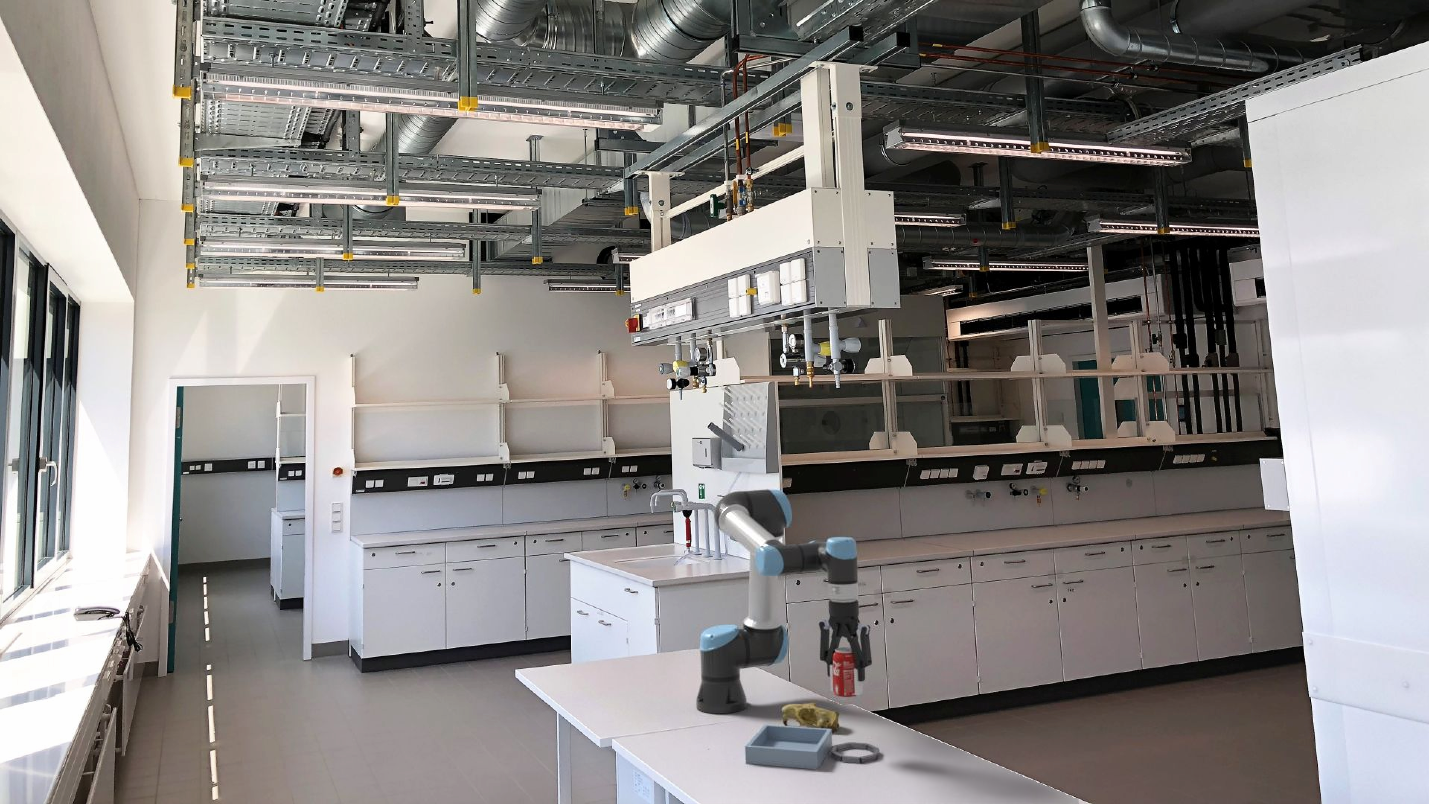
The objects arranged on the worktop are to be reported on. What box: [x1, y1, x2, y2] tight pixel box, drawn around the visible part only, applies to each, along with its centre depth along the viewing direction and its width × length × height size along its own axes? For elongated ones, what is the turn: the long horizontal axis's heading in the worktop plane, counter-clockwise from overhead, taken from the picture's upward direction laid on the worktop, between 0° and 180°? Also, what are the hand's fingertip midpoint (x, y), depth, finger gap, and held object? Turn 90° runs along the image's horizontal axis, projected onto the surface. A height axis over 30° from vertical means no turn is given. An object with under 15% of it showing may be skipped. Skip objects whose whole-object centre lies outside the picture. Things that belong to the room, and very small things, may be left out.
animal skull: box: [781, 702, 841, 734], centre depth 254 cm, size 10×16×7 cm
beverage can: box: [833, 646, 858, 701], centre depth 233 cm, size 6×6×12 cm
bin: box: [744, 724, 833, 770], centre depth 234 cm, size 18×18×4 cm
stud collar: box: [830, 741, 880, 764], centre depth 232 cm, size 12×12×1 cm
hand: (846, 691), depth 233 cm, fingers closed on beverage can, 6 cm apart
